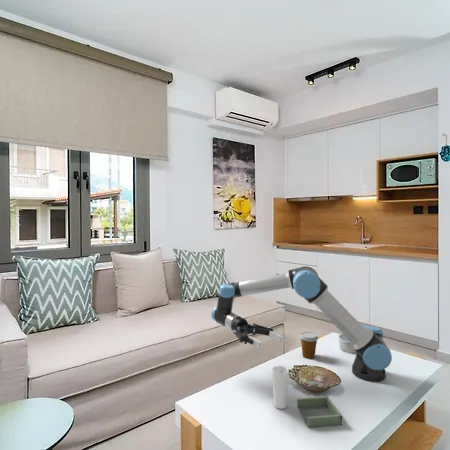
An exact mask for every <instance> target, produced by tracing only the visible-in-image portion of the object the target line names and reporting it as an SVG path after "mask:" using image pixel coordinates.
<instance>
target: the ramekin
mask: <svg viewBox="0 0 450 450" xmlns="http://www.w3.org/2000/svg"><path fill="white" fill-rule="evenodd" d="M338 344H339V345H338V346H339V348H340V350H341V351H343V352H344V353H347V354H356V351H355V350H354V349H353V347H352V342H351V341H350V340H349V339H348V338H347V337H346V336H345V335H344V334H343V333H340V334H339V335H338Z"/></svg>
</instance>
